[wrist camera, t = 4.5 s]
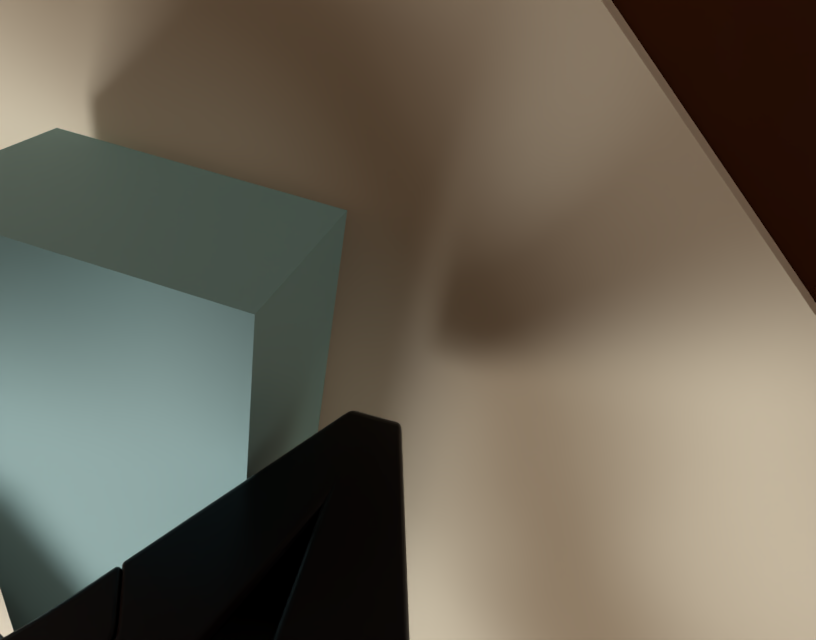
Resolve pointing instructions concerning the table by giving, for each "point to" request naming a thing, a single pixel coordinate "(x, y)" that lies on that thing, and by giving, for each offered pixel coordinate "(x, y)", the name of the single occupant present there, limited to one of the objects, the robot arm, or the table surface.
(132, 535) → the link
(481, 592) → the base board
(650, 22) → the table surface
